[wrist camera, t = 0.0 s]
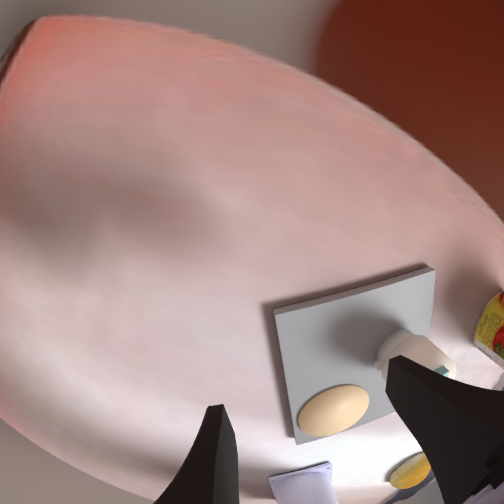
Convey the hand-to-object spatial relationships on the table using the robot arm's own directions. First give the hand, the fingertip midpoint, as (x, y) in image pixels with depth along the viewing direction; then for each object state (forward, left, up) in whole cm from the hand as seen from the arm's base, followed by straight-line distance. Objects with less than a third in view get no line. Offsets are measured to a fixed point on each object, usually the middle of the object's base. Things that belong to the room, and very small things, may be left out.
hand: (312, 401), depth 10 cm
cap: (-7, -10, -7) cm, 14 cm away
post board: (-8, -7, -10) cm, 15 cm away
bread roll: (-39, -19, -11) cm, 45 cm away
